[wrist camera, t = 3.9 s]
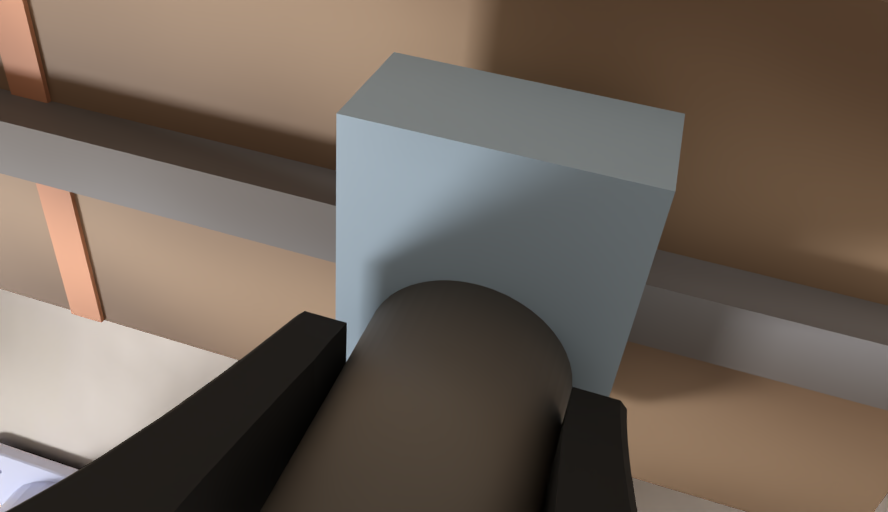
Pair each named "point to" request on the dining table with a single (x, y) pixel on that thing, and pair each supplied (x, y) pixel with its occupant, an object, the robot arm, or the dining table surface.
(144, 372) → the dining table surface
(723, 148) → the press bench
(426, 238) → the handle
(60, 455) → the dining table surface
